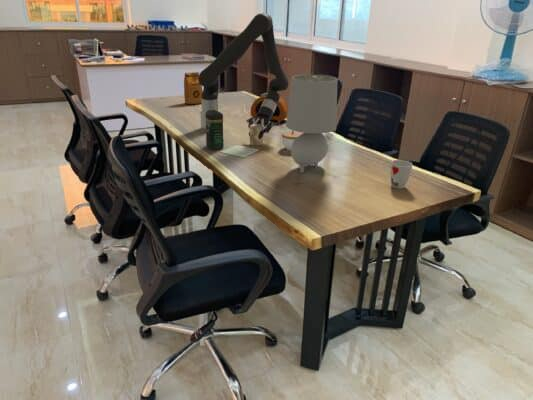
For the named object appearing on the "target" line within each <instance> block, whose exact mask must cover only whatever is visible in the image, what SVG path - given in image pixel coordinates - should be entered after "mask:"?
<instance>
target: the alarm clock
mask: <svg viewBox="0 0 533 400" xmlns="http://www.w3.org/2000/svg"><path fill="white" fill-rule="evenodd" d="M267 93H268V92H265V93H262V94H260V97H257V98H256V99H255V100H254V101H253V103H252V104H251V107H250V116H251V118H256V117H257V114H258V112H259V109H260V107H261V105H262V103H263V101H264V100H265V98H266V96H267ZM288 105H289V104H288V103H287V102H286V100H285V99H284V98H283V97H281V96H280V99H279V101H278V103H277V105H276V109H275V111H274V113H273V115H272V118H271V120H270V121H272V120H273V121H277V122H278V123H280V122H283V121H284V120H287V113H288Z"/></svg>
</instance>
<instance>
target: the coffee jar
mask: <svg viewBox="0 0 533 400" xmlns="http://www.w3.org/2000/svg"><path fill="white" fill-rule="evenodd" d="M205 119H206V130H205V134H206V135H205V138H206V139H205V140H206V143H205V144H206V147H207V149H210V150H217V151H218V150H221V149H224V114H223V113H222V112H220V111H219V110H218V111H216V110H208V111H207V112H206V115H205Z"/></svg>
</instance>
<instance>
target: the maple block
mask: <svg viewBox="0 0 533 400" xmlns="http://www.w3.org/2000/svg"><path fill="white" fill-rule="evenodd" d="M261 129H262V125H260V124H254V123H253V125H250V128H249V132H250V136H249V145H250V146H256V147H259V146H261V145H263V144H264V136H263V137H262V138H261V139H259V138H258V136H259V133H260V131H261Z"/></svg>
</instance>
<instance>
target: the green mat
mask: <svg viewBox="0 0 533 400" xmlns="http://www.w3.org/2000/svg"><path fill="white" fill-rule="evenodd" d="M259 151H260V149H257V148H253V147H247V146H243V145H238V144H235V145H233V146H231V147H228V148H225V149H224V150H221V151H220V153H222V154H225V155H229V156H234V157H238V158H247V157H249V156H250V155H253V154H255V153H257V152H259Z"/></svg>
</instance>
